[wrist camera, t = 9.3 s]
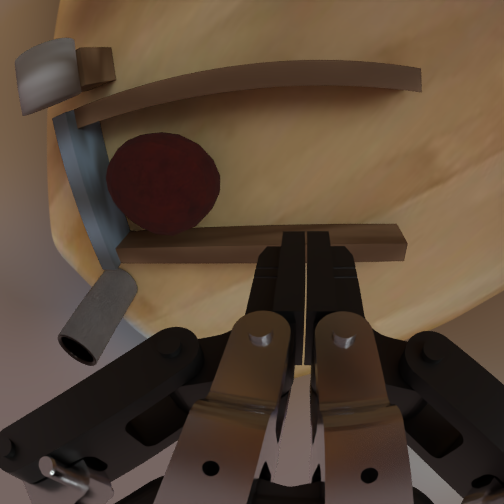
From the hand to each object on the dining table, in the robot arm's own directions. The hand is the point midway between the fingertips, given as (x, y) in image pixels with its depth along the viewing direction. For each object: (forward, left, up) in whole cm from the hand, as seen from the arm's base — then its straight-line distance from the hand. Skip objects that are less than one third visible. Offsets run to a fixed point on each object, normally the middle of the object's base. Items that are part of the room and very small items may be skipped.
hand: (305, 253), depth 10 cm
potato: (0, -10, -13) cm, 16 cm away
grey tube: (+12, -20, -13) cm, 27 cm away
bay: (-2, -5, -12) cm, 14 cm away
